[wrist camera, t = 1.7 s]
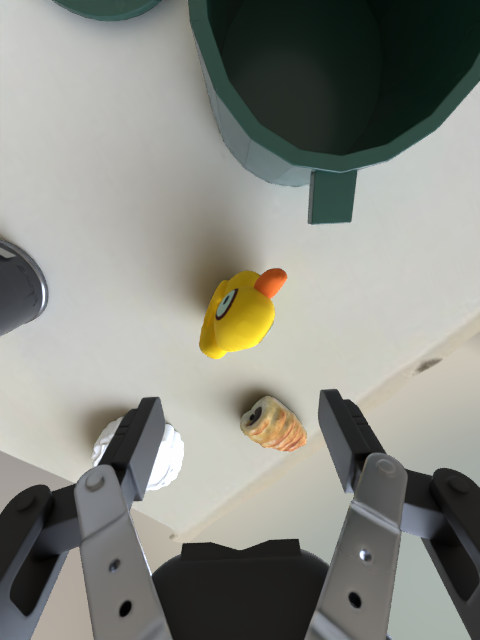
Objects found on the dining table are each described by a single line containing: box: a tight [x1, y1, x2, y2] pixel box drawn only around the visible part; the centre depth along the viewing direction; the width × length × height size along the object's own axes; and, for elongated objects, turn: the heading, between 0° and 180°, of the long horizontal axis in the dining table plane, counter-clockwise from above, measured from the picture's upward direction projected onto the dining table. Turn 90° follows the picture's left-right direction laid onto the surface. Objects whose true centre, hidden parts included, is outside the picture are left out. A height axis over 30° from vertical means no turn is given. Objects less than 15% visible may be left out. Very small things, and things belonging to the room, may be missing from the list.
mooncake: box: [91, 417, 184, 491], centre depth 36 cm, size 12×12×4 cm
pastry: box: [240, 396, 307, 452], centre depth 34 cm, size 9×7×4 cm
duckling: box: [199, 268, 287, 359], centre depth 24 cm, size 11×5×10 cm, turn 145°
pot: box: [188, 0, 480, 225], centre depth 16 cm, size 15×20×12 cm
